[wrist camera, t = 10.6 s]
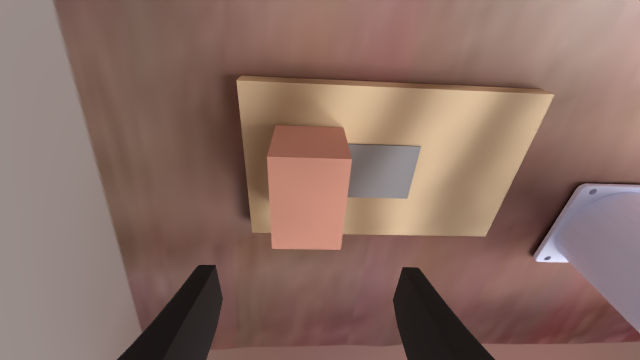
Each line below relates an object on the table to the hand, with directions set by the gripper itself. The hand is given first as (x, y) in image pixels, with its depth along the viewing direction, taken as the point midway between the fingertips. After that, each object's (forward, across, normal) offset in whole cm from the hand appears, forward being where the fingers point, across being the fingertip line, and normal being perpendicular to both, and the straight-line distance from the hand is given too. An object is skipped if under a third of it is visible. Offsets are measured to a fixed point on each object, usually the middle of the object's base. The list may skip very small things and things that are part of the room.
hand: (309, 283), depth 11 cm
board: (+10, -5, 0) cm, 11 cm away
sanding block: (+9, 0, 0) cm, 9 cm away
